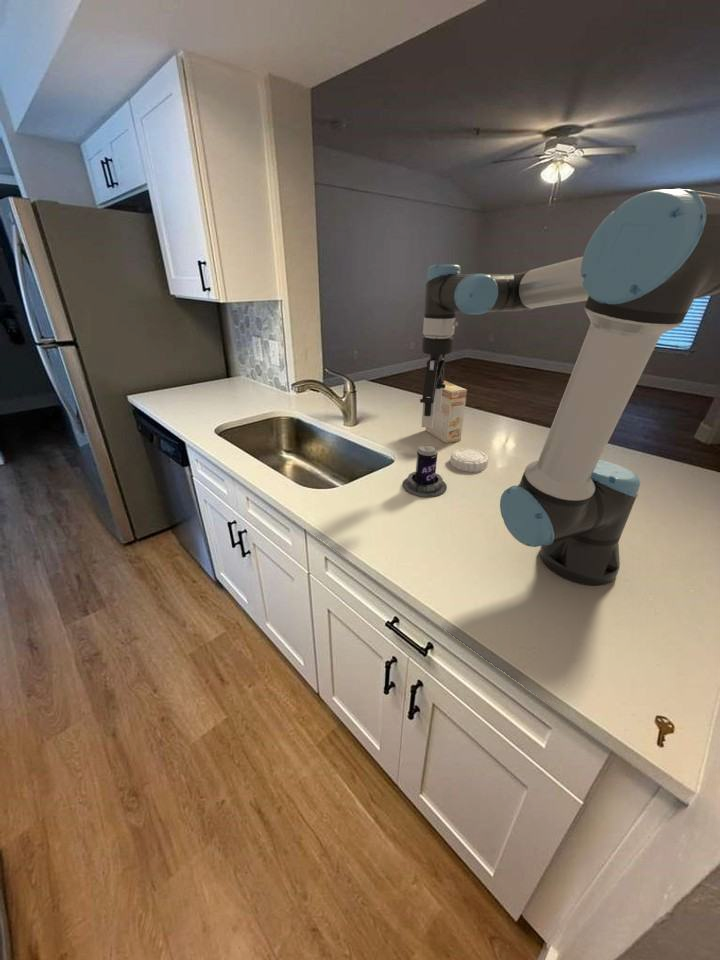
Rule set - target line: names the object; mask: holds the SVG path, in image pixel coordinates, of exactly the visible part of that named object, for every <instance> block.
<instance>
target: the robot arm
mask: <svg viewBox="0 0 720 960" xmlns="http://www.w3.org/2000/svg"><path fill="white" fill-rule="evenodd" d="M719 293H720V193H714V192H707V191H702V190H701V191H700V190H692V189H683V188H680V187H678V188H673V189H653V190H649V191H645V192H641V193H639V194H637V195H635V196H632V197H630V198H629V199H627V200H625V201H623V202H622V203H621V204H620V205H619V206H618V207H617V208H615V210H613V211H611V212H610V213H609V214H607V216H606V217H605V218H604V219H603V220H602V221H601V222H600V224H599V225H598V226H597V227H596V229H595V230H594V232H593V234H592V235H591V237H590V238H589V241H588V242H587V245H586V246H585V249H584V253H583V256H580V257H576V258H575V257H574V258H572V259H567V260H563V261H560V262H556V263H553V264H549V265H545V266H541V267H538V268H537V267H536V268H533V269H530V270H525V271H523V272H518V273H504V274H503V273H470V274H469V273H466V274H463V273H462V274H461V266H460V265H459V264H433V265H430V266H429V267H428V269H427V276H426V282H425V293H424V294H425V295H424V296H425V299H424V316H423V326H422V334H423V335H424V336H423V337H422V345H421V352H422V353H423V354H427V355H429V356H430V357H429V360H427V362H426V371H425V377H424V386H423V391H422V396H421V397H422V398H420V400H419V402H420V403H422V414H421V415H422V416H421V428H425V429H426V428H432V427H433V415H434V412H440V409H441V398H442V389H441V388H445V384H443V383H444V381H445V363H446V358H445V356H446V355H450V354H452V353H453V348H454V341H455V339H454V337H452V336H453V335H454V334H455V327H457V326H458V325H459V323H458V321H456V317H457V313H461V314H466V315H468V316H471V315H475V316H476V315H483V314H486V313H497V312H527V311H531V310H533V309H537V308H543V307H544V308H545V307H549V306H557V305H564V304H572V303H580V302H585V301H586V302H585V306H584V309H583V310H584V311H585V313H586V315H587V317H588V319H589V322H590V324H589V328H588V329H587V333H586V334H585V335H586V336H585V337H584V341H583V343H582V346H581V347H580V352H579V353H578V356H577V359H576V362H575V364H574V367H573V369H572V372H571V374H570V377H569V379H568V383H567V385H566V387H565V390H564V393H563V396H562V398H561V400H560V403H559V406H558V409H557V411H556V414H555V416H554V419H553V422H552V424H551V426H550V429H549V431H548V434H547V437H546V439H545V442H544V445H543V447H542V450H541V453H540V454H539V455H540V456H539V458H538V459H537V460H535V461H532V462H530V463H529V464H527V465H526V467H525V469H524V472H523V474H522V476H521V479H520V482H519V483H518V484H517V485H512V486H509V488H506V489H505V490H504V491H503V492H502V493H501V496H500V499H499V501H500V502H499V511H500V516H501V518H502V520H503V524H504V525H505V528H506V529H507V531H508V532H509V533H510V534H511V536H512V538H515V540H516V541H518V542H519V543H520V544H522V545H524V546H526V547H529V548H530V547H531V548H536V547H540V549H539V556H540V559H541V561H542V562H543V563H544V565H545V566H546V567H547V569H548V570H551V571H552V572H553V573H555V574H557V576H560V577H561V578H563V579H566V580H568V581H571V582H574V583H577V584H581V585H586V586H588V585H589V586H602V585H607V584H610V583H611V582H613V581H614V580H615V579H616V578H617V575H618V573H619V570H620V565H621V562H620V561H621V560H620V559H621V558H620V544H619V542H620V539H621V536H622V534H623V531H624V529H625V526H626V525H627V521H628V519H629V517H630V514H631V512H632V509H633V507H634V503H635V501H636V498H638V496H639V494H638V492H639V489H640V486H641V480H640V478H639V477H638V475H637V474H636V473H634V472H633V471H632V470H630V469H628V468H626V467H624V466H622V465H620V464H617V463H613V462H611V461H606V460H603V459H601V457H602V454H603V452H605V449H606V447H607V445H608V442H609V441H610V439H611V437H612V435H613V433H614V431H615V428H616V427H617V425H618V423H619V420H620V418H621V417H622V415H623V412H624V410H625V409H626V406H627V405H628V402H629V400H630V398H631V396H632V394H633V392H634V390H635V388H636V386H637V385H638V382H639V380H640V379H641V376H642V374H643V372H644V370H645V368H646V366H647V364H648V362H649V360H650V358H651V356H652V354H653V352H654V350H655V348H656V346H657V343H658V342H659V339H660V338H661V336H662V335H664V334H665V333H667V332H669V331H671V330H673V329H675V328H677V327H679V326H681V325H682V324H683V321H684V320H685V318H686V315H687V314H688V312H689V310H690V308H691V306H692V305H693V303H694V300H696V299H701V298H706V297H710V296H712V295H716V294H719ZM428 397H431V398H428Z"/></svg>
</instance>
